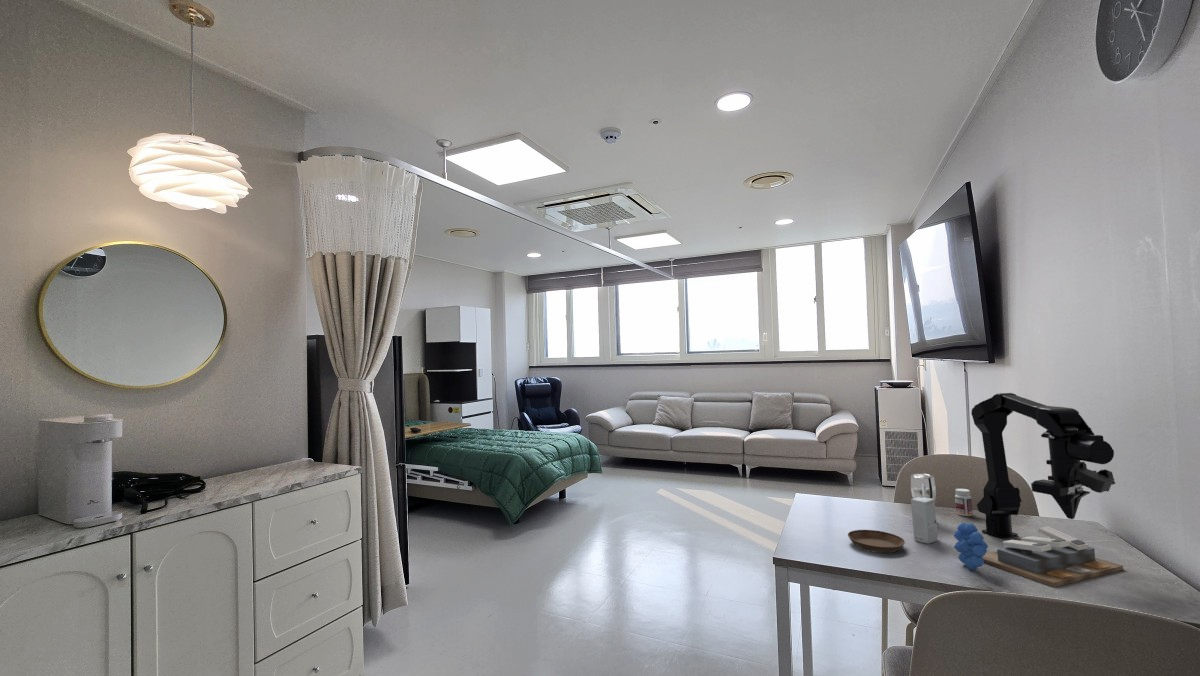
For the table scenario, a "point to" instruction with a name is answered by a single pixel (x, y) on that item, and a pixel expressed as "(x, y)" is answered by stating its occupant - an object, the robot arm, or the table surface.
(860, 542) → the saucer
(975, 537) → the grapes
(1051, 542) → the rocker middle
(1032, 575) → the switch panel
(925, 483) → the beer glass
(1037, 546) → the rocker
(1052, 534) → the rocker
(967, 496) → the pill bottle
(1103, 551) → the table surface
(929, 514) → the skincare box
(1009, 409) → the robot arm
